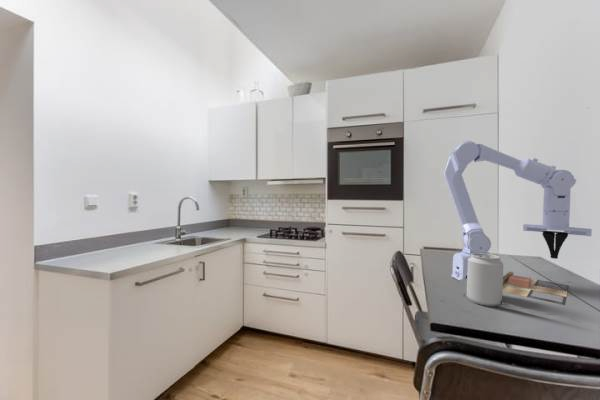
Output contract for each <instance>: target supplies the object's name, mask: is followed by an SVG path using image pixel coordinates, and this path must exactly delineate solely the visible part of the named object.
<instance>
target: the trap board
mask: <svg viewBox="0 0 600 400" xmlns="http://www.w3.org/2000/svg"><path fill="white" fill-rule="evenodd" d="M511 275H514V272H513V271H508V272H507V273H506V274H505V275H503V289H502V293H509V294H513V295H516V296H522V297H525V298H530V299H535V300H540V301H545V302H547V303H548V302H549V303H554V304H558V305H563V306H565V305H566V300H567V295H568V291H569V287H570V285H569V284H568V285H567V284H561V283H557V282H552V281H546V280H541V279H534V278H531V286H530V287H529V289H528V288H523V287H518V286H513V285H509V277H510V276H511ZM538 283H545V284H550V285H556V286H561V287H565V289H564V290H563V289H558V288H551V287H547V286H542V285H538ZM534 291H535V292H538V293H543V294H548V295H554V296H559V297H563V298H562V302H561V301H557V300H552V299H548V298H543V297H538V296H534V295H532V293H533V292H534Z"/></svg>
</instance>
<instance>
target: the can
mask: <svg viewBox="0 0 600 400" xmlns="http://www.w3.org/2000/svg"><path fill="white" fill-rule="evenodd" d="M500 259H501V257H500V256H498V255H495V254H491V253H489V254H484V253H472V254H471V257H470V258H469V259H468V271H467V276H466V278H467V279H466V297H467V298H468V299H469V300H470V301H471V302H473V303H474V304H477V305H481V306H484V305H485V306H486V307H497V306H499V305H500V304H502V302H503V301H502V300H503V292H502V289H503V277H504V263H503V262H502V261H501V260H500ZM485 306H484V307H485Z"/></svg>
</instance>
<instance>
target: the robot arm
mask: <svg viewBox="0 0 600 400" xmlns="http://www.w3.org/2000/svg"><path fill="white" fill-rule="evenodd" d="M484 161H485V162H489V163H492V164H494V165H498V166H501V167H505V168H507V169H509V170H511V171H513V172H514V174H515V175H516V177H518V178H522V179H524V180H527V181H529V182H532V183H534V184H536V185H537V184H538V185H540V186H541V187H542V188H543V199H542V200H543V201H542V202H543V205H542V224H530V223H529V224H528V223H527V224H525V223H524V224H522V231H525V232H540V233H542V234H541V235H542V237H543V239H544V241H545V243H546V245H547V247H548V250H549V254H550V259H556V260H557V259H558V258H559V253H560V250H561V247H562V246H563V244H564V242H565V241H566V240H567V238H568V236H569V235H575V236H586V237H592V231H593V229H592V228H586V227H585V228H584V227H574V226H573V227H571V226H570V218H571V217H570V213H571V212H570V211H571V189H572V188H573V187H574V186H575V184H576V182H577V179H576V178H575V176H574V174H572V172H571V171H569V170H566V169H556V168H557V167H556V165H548V164H545V163H542V162H540V161H539V159H538V158H534V157H533V158H525V159H521V160H520V159H518V158H516V157H513V156H511V155H509V154H506V153H503V152H501V151H499V150H496V149H494V148H491V147H490V146H487V145H484V144H481V143H476V142H474V141H472V140H465V141H463V142H460V143H459V144H458V145H457V146H456V147H455V149H453V151H452V152H451V153H450V154H449V156H448V159H447V163H446V166H445V169H444V172H443V175H444V179H445V182H446V184H447V187H448V191H449V194H450V196H451V200H452V201H453V204H454V207H455V211H456V214H457V216H458V220H459V222H460V224H461V225H460V226H461V231H462V237H461V238H462V239H461V242H462V243H463V245H464V247H463V248H462V251H461V252H456V253H454V255H453V257H452V272H451V273H452V274H451V275H450V276H451V277H452V278H453V279H455V280H457V281H461V280H463V279H466V280H467V271H468V259H469V258H470V257H471V254H472V253H484V254H490V252H489V250H491V247H492V242H491V239H490V238H489V237H488V235H486V234H485V232H484V230H483V227H482V226H481V224H480V222H479V220H478V218H477V215H476V212H475V209H474V206H473V203H472V200H471V197H470V195H469V192H468V189H467V186H466V182H465V180H464V178H463V173H464V171H466V168H467V167H468V165H469V164H470V163H472V162H474V163H477V162H484Z"/></svg>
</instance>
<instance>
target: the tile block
mask: <svg viewBox="0 0 600 400" xmlns="http://www.w3.org/2000/svg"><path fill="white" fill-rule="evenodd" d="M531 279H532V278H531V277H525V276H520V275H514V274H513V275H511V276H510V277H509V285H513V286H518V287H523V288H528V289H529V287H530V286H531Z"/></svg>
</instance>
